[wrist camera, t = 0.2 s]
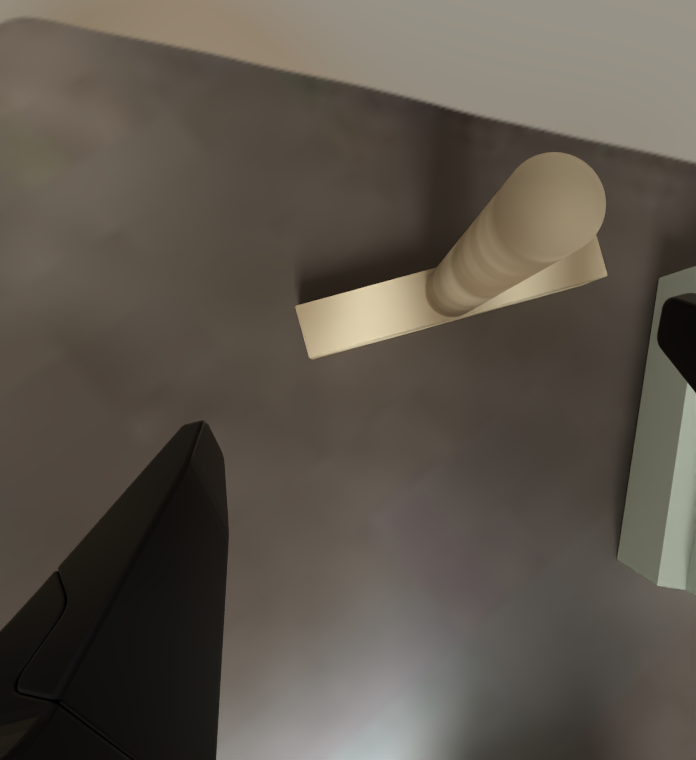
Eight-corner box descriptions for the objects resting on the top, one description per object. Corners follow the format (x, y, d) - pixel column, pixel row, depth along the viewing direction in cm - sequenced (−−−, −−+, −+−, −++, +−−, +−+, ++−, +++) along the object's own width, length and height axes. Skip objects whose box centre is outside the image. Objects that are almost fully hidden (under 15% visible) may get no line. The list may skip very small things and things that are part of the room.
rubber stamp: (572, 237, 24) (828, 75, 11) (585, 284, 24) (857, 174, 11) (299, 312, 23) (248, 232, 11) (312, 359, 23) (276, 333, 11)
